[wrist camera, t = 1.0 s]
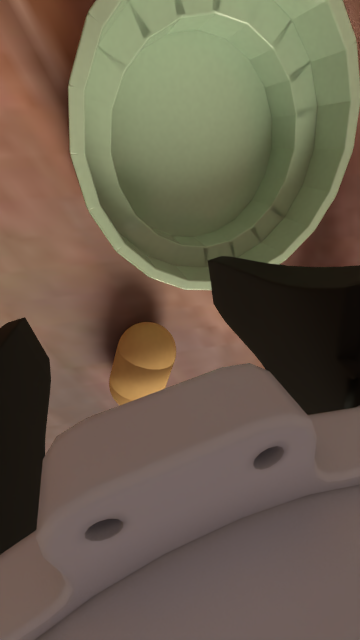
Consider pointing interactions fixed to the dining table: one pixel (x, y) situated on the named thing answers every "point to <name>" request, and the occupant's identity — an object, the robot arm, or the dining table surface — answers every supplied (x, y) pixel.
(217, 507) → the robot arm
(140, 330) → the potato
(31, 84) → the dining table surface
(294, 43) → the celadon bowl
